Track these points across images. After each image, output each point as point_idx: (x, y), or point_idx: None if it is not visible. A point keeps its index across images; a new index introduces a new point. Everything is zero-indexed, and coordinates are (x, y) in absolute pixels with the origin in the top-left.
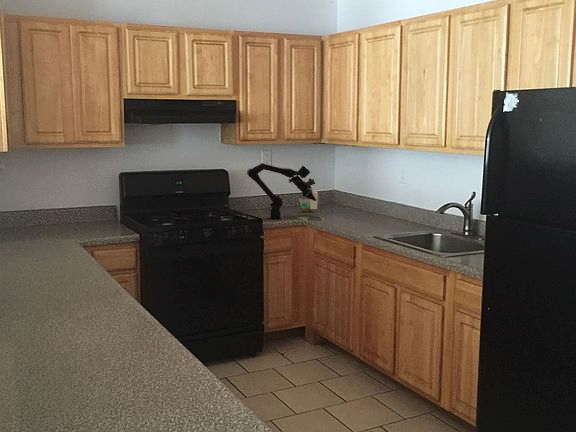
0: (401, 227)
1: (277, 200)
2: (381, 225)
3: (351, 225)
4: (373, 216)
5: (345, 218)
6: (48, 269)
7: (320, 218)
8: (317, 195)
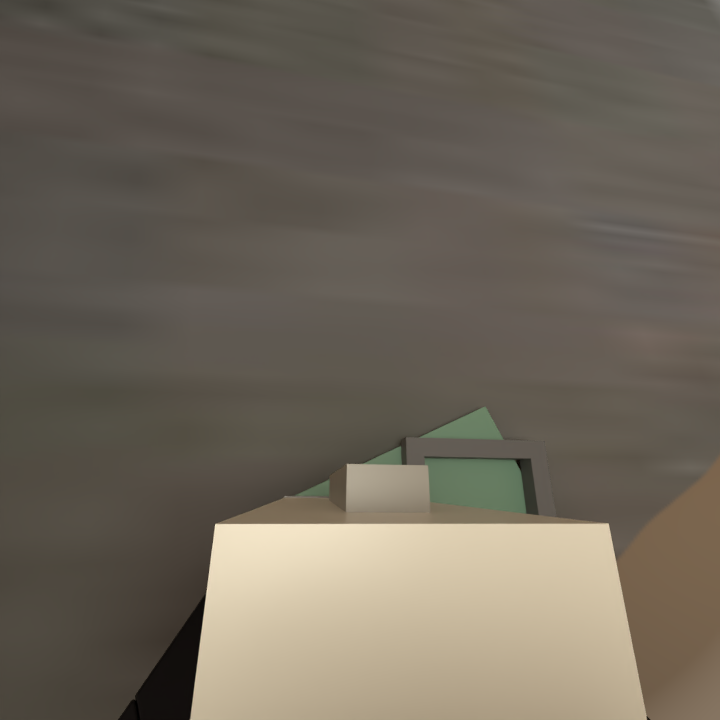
0: (610, 3)
1: None
2: (580, 65)
3: (642, 219)
4: (212, 27)
5: (319, 218)
6: None
7: (546, 453)
8: (427, 505)
